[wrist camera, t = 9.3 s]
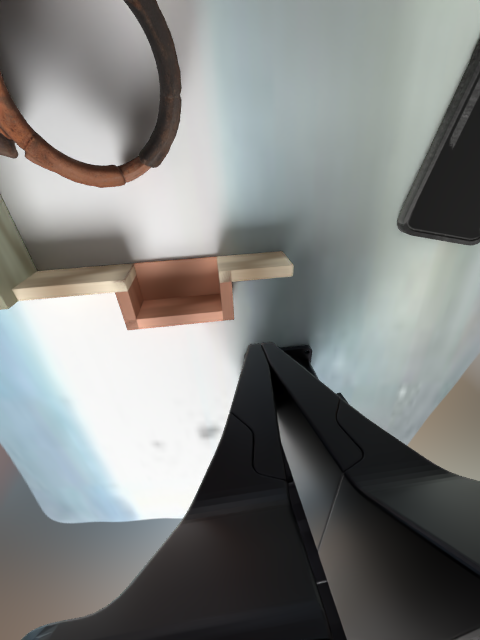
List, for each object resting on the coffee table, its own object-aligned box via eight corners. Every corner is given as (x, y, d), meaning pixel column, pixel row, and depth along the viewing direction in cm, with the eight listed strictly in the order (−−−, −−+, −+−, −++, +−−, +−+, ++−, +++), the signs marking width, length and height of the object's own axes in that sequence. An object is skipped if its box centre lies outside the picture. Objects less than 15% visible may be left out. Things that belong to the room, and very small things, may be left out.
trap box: (304, -229, 10) (356, -421, 7) (279, 295, 22) (293, 320, 19) (-253, -270, 8) (-548, -544, 5) (48, 317, 21) (19, 349, 17)
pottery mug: (40, -158, 10) (88, -269, 6) (169, 108, 18) (230, 143, 14) (-210, 23, 10) (-351, 43, 6) (32, 213, 18) (50, 282, 14)
